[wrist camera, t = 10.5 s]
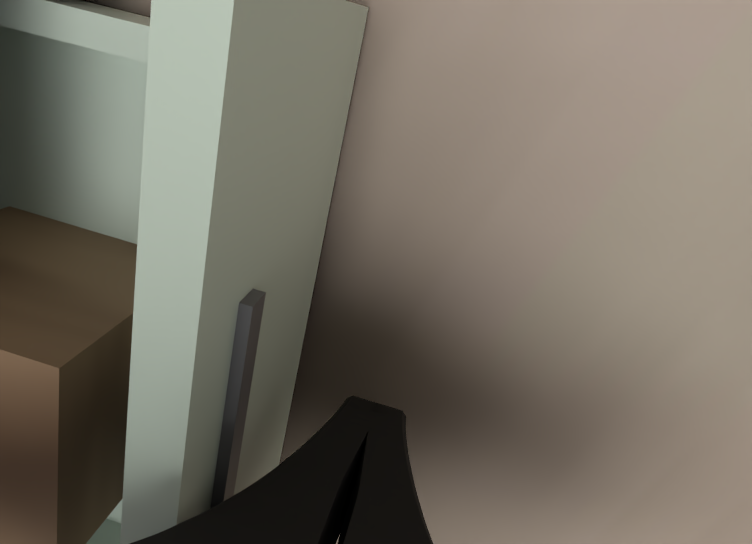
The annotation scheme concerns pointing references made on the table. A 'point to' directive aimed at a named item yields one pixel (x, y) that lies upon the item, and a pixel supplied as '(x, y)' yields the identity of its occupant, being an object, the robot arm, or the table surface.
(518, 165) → the table surface
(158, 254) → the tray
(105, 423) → the walnut block
